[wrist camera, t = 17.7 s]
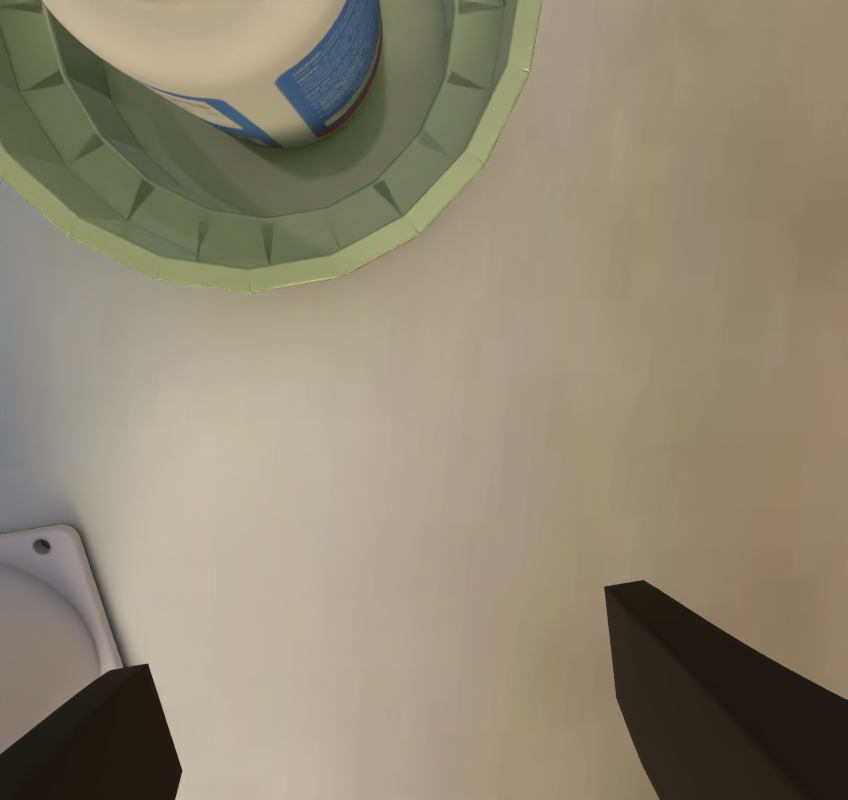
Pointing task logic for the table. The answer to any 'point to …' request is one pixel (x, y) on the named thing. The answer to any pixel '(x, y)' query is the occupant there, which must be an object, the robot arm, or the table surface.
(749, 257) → the table surface
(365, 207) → the green pet bowl
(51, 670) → the robot arm
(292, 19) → the pill bottle
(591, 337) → the table surface
